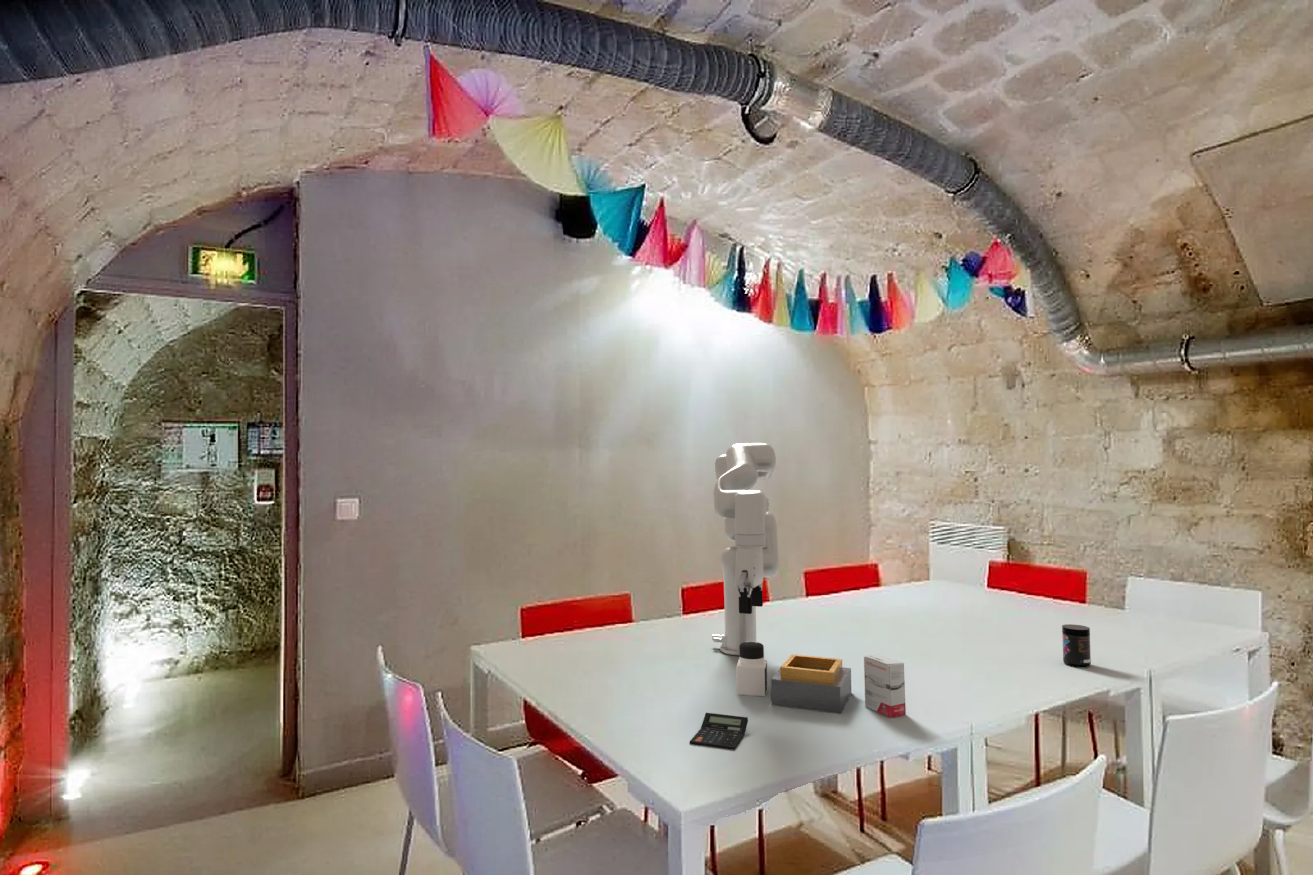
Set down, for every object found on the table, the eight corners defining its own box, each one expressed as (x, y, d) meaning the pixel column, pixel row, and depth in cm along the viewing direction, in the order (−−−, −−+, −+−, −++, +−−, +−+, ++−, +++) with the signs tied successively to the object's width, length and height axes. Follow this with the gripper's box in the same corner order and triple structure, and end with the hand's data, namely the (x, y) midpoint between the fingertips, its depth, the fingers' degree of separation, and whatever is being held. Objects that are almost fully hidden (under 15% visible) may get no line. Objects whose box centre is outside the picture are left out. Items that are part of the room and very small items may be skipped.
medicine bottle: (765, 696, 174) (765, 647, 175) (736, 695, 176) (735, 646, 176) (767, 687, 181) (766, 640, 182) (739, 686, 183) (738, 638, 183)
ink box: (907, 715, 161) (905, 661, 161) (890, 718, 159) (888, 664, 159) (880, 703, 169) (879, 652, 169) (863, 706, 167) (862, 655, 167)
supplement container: (1072, 660, 203) (1071, 623, 204) (1096, 666, 197) (1095, 628, 198) (1057, 663, 200) (1056, 626, 200) (1081, 669, 194) (1080, 630, 194)
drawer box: (771, 704, 168) (770, 668, 169) (789, 682, 185) (789, 649, 185) (840, 713, 162) (839, 675, 162) (852, 689, 179) (852, 655, 179)
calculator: (689, 745, 145) (689, 730, 146) (706, 725, 156) (706, 711, 156) (734, 751, 142) (734, 736, 142) (748, 731, 153) (748, 716, 153)
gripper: (745, 537, 189) (746, 602, 188) (725, 544, 173) (726, 615, 173) (773, 538, 186) (774, 604, 185) (755, 545, 170) (756, 617, 170)
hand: (751, 609), depth 179 cm, fingers open, 9 cm apart
